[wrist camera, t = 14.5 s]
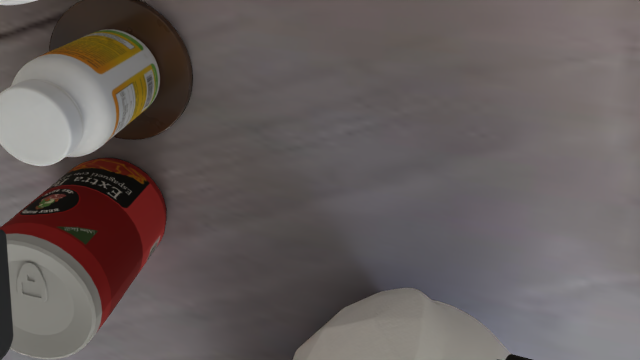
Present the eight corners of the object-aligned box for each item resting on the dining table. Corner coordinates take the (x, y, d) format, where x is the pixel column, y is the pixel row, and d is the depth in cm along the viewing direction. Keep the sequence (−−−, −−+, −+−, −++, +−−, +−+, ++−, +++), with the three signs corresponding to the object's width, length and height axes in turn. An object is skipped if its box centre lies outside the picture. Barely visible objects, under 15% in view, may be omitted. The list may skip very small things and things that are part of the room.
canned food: (157, 151, 38) (74, 239, 29) (180, 253, 42) (112, 363, 32) (51, 155, 40) (-64, 240, 30) (82, 254, 43) (-13, 359, 33)
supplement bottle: (60, 51, 36) (-50, 101, 27) (129, 11, 34) (35, 51, 25) (111, 126, 37) (23, 196, 29) (179, 92, 36) (107, 154, 27)
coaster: (52, -21, 34) (46, -20, 34) (199, 12, 34) (196, 14, 34) (54, 119, 38) (50, 122, 38) (186, 149, 38) (183, 153, 38)
